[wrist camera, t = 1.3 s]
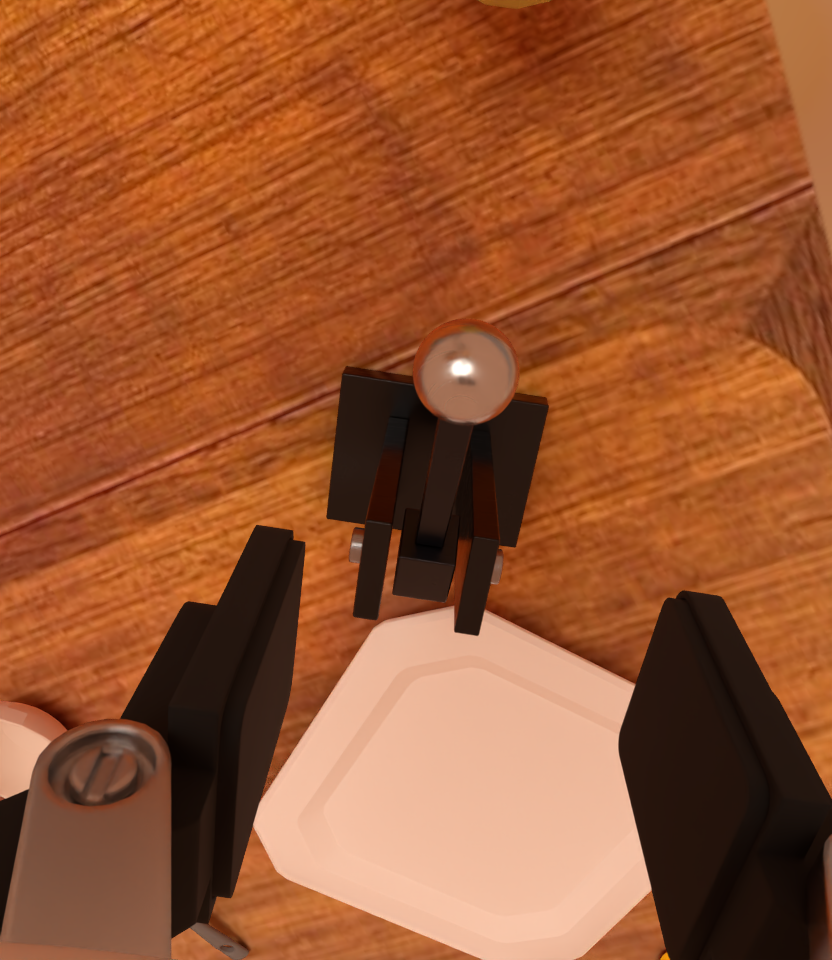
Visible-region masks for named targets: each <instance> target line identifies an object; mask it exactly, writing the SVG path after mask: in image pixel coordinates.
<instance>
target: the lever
mask: <svg viewBox="0 0 832 960" xmlns="http://www.w3.org/2000/svg"><path fill="white" fill-rule="evenodd" d="M413 381H414V386H415V389H416V392H417V395H418V397H419V399H420V400H421V402H422V403H423V405H424V406H425V407H426V408H427V409H428V411H429V412H430V413H432V414H433V415H434V416H436V417H437V418H438V420H437V425H436V431H435V436H434V441H433V446H432V451H431V457H430V462H429V467H428V472H427V477H426V483H425V488H424V493H423V498H422V503H421V509H420V510H418V509H411V508H406V509H405V514H404V520H403V526H402V532H401V538H400V544H399V551H398V557H397V564H396V571H395V578H394V584H393V591H392V594H393V595H397V596H404V597H410V598H417V599H423V600H430V601H437V602H443V603H445V602H446V600H447V597H448V593H449V589H450V586H451V582H452V578H453V575H454V571H455V568H456V561H457V550H458V539H459V528H460V516H457V515H451V514H452V510H453V506H454V502H455V498H456V494H457V490H458V486H459V482H460V478H461V474H462V469H463V465H464V461H465V457H466V453H467V449H468V445H469V441H470V437H471V433H472V429H473V425H478V424H482V423H484V422H487V421H489V420H491V419H493V418H494V417H496V416H497V415H499V414H500V413H501V412H502V411H503V410H504V409H505V408H506V407H507V406H508V404H509V403H510V401H511V400H512V398H513V396H514V394H515V392H516V389H517V386H518V381H519V362H518V358H517V354H516V351H515V349H514V347H513V346H512V344H511V342H510V341H509V339H508V338H507V337H506V336H505V335H504V334H503V333H502V332H501V331H500V330H499V329H497V328H496V327H494V326H493V325H491V324H489V323H487V322H484V321H481V320H477V319H456V320H452V321H449V322H447V323H444V324H442V325H440V326H439V327H437V328H436V329H434V330H433V331H432V332H431V333H429V334H428V336H427V337H426V338H425V339H424V340H423V342H422V343H421V345H420V347H419V349H418V351H417V353H416V356H415V360H414V364H413Z"/></svg>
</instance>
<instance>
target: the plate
mask: <svg viewBox="0 0 832 960" xmlns="http://www.w3.org/2000/svg"><path fill="white" fill-rule="evenodd" d="M635 685H636V684H634V683H632V682H630V681H628V680H626V679H624V678H622V677H620V676H618V675H616V674H614V673H612V672H610V671H608V670H606V669H604V668H602V667H600V666H598V665H596V664H594V663H592V662H590V661H588V660H586V659H584V658H582V657H580V656H578V655H576V654H574V653H572V652H570V651H568V650H566V649H564V648H562V647H560V646H558V645H556V644H554V643H552V642H550V641H548V640H546V639H544V638H542V637H540V636H538V635H536V634H534V633H532V632H530V631H528V630H526V629H524V628H522V627H520V626H518V625H516V624H514V623H512V622H510V621H508V620H506V619H504V618H502V617H500V616H498V615H496V614H494V613H492V612H490V611H488V610H486V609H485V611H484V615H483V620H482V624H481V628H480V633H479V635H478V636H474V635H467V634H461V633H455V632H454V606H449V607H445V608H440V609H435V610H430V611H426V612H421V613H416V614H411V615H407V616H402V617H397V618H392V619H388V620H384V621H383V622H381V623H380V624H378V625H377V626H375V627H374V628H373V629H372V631H371V632H370V634H369V635H368V637H367V638H366V640H365V641H364V643H363V644H362V646H361V648H360V649H359V651H358V652H357V654H356V655H355V657H354V658H353V660H352V661H351V663H350V664H349V666H348V667H347V669H346V671H345V672H344V674H343V675H342V677H341V678H340V680H339V681H338V683H337V684H336V686H335V687H334V689H333V690H332V692H331V694H330V695H329V697H328V698H327V700H326V701H325V703H324V704H323V706H322V707H321V709H320V710H319V712H318V713H317V715H316V717H315V718H314V720H313V721H312V723H311V724H310V726H309V727H308V729H307V730H306V732H305V733H304V735H303V736H302V738H301V740H300V741H299V743H298V744H297V746H296V747H295V749H294V750H293V752H292V753H291V755H290V756H289V758H288V759H287V761H286V763H285V764H284V766H283V767H282V769H281V770H280V772H279V773H278V775H277V776H276V778H275V779H274V781H273V783H272V784H271V786H270V787H269V789H268V790H267V792H266V793H265V795H264V796H263V798H262V799H261V801H260V803H259V806H258V809H257V813H256V816H255V820H254V823H253V826H254V828H255V830H256V832H257V834H258V836H259V838H260V840H261V842H262V844H263V846H264V848H265V850H266V852H267V854H268V855H269V857H270V859H271V861H272V863H273V865H274V867H275V869H276V871H277V872H278V873H280V874H281V875H282V876H283V877H284V878H286V879H288V880H290V881H293V882H295V883H298V884H300V885H302V886H305V887H307V888H310V889H312V890H315V891H317V892H320V893H322V894H324V895H327V896H329V897H332V898H334V899H337V900H339V901H341V902H344V903H346V904H349V905H351V906H354V907H356V908H358V909H361V910H363V911H366V912H368V913H371V914H373V915H375V916H378V917H380V918H383V919H385V920H388V921H390V922H392V923H395V924H397V925H400V926H402V927H405V928H407V929H409V930H412V931H414V932H417V933H419V934H422V935H424V936H427V937H429V938H431V939H434V940H436V941H439V942H441V943H444V944H446V945H448V946H451V947H453V948H456V949H458V950H461V951H463V952H465V953H468V954H470V955H473V956H475V957H478V958H480V959H482V960H574V959H577V958H579V957H581V956H583V955H584V954H585V953H586V952H587V951H588V950H589V949H590V948H592V947H593V946H594V945H595V944H596V943H597V942H598V941H599V940H600V939H601V938H602V937H603V936H604V935H605V934H606V933H607V932H608V931H609V930H610V929H611V928H612V927H613V926H615V925H616V924H617V923H618V922H619V921H620V920H621V919H622V918H623V917H624V916H625V915H626V914H627V913H628V912H629V911H630V910H631V909H632V908H633V907H634V906H635V905H637V904H638V903H639V902H640V901H641V900H642V899H643V898H644V897H645V896H646V895H647V894H648V893H649V892H650V891H651V890H652V889H651V885H650V881H649V877H648V873H647V868H646V864H645V860H644V856H643V852H642V848H641V844H640V839H639V835H638V831H637V827H636V823H635V819H634V815H633V811H632V806H631V802H630V798H629V794H628V790H627V786H626V782H625V778H624V773H623V769H622V765H621V761H620V757H619V751H618V740H619V733H620V729H621V726H622V723H623V720H624V717H625V714H626V711H627V708H628V705H629V702H630V700H631V697H632V694H633V691H634V688H635Z"/></svg>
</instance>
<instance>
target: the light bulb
mask: <svg viewBox="0 0 832 960" xmlns="http://www.w3.org/2000/svg"><path fill="white" fill-rule="evenodd" d="M478 1H480V2H481V3H483V4H485V5H490V6H497V7H505V8H513V9H519V8H523V7H528V6H532V5H536V4H540V3H545V2H549V1H551V0H478Z"/></svg>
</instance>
